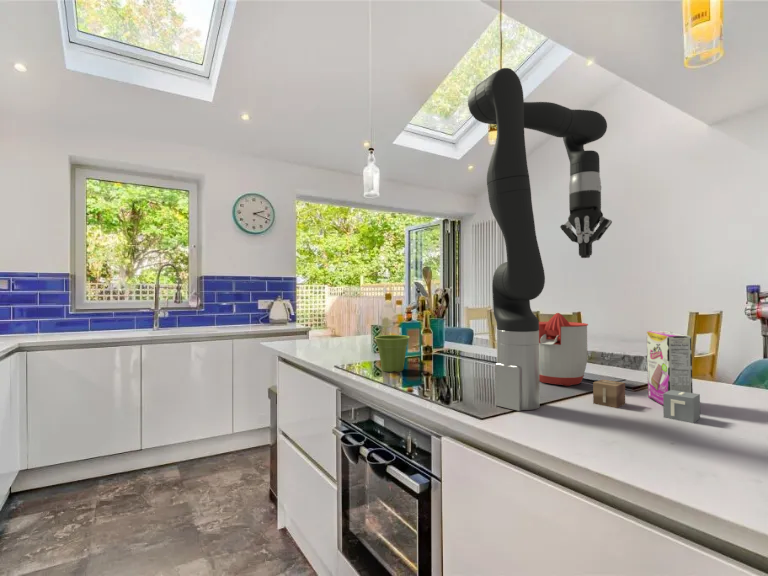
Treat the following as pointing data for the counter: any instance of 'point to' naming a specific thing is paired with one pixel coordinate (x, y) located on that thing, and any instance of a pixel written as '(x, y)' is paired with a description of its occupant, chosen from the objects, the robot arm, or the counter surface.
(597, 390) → the walnut digit cube
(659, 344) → the candy bar box
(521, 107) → the robot arm
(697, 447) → the counter surface
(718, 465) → the counter surface
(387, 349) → the plant pot
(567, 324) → the citrus juicer
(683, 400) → the slate digit cube
